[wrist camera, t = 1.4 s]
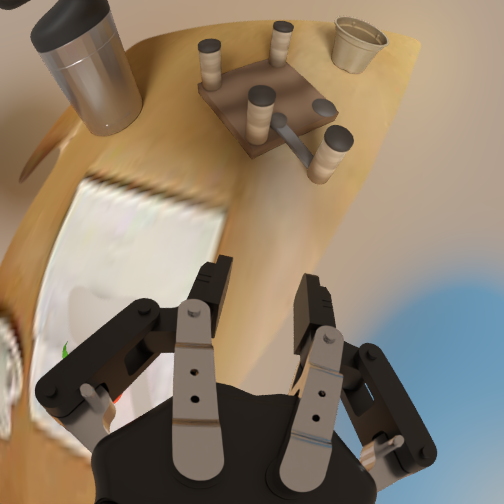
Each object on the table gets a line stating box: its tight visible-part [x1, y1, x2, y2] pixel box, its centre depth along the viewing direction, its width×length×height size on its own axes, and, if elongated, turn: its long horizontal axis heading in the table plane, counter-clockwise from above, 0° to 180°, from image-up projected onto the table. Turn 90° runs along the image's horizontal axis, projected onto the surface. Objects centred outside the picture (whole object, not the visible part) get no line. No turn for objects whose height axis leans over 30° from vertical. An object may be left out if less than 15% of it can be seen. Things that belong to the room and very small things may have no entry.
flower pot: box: [332, 16, 389, 74], centre depth 34 cm, size 9×9×9 cm
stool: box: [198, 21, 339, 159], centre depth 30 cm, size 14×14×10 cm
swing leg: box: [270, 112, 354, 184], centre depth 26 cm, size 10×3×8 cm, turn 33°
